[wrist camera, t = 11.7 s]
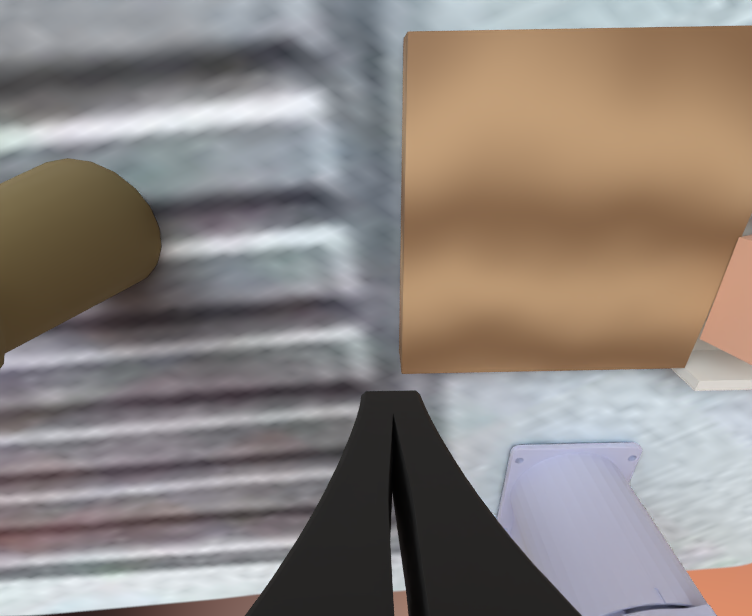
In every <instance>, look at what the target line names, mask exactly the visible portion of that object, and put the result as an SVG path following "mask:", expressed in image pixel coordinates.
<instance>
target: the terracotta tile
mask: <svg viewBox="0 0 752 616" xmlns="http://www.w3.org/2000/svg"><path fill="white" fill-rule="evenodd" d="M700 339H701V340H703V341H705V342H707V343H709V344H711V345H713V346H715V347H717V348H719V349H721V350H723V351H725V352H727V353H729V354H731V355H733V356H735V357H737V358H739V359H741V360H743V361H745V362H747V363H748V364H750V365H752V235H747V236H743V237H739V239H738V241H737V244H736V246H735V249H734V251H733V254H732V257H731V259H730V262H729V264H728V267H727V270H726V272H725V275H724V277H723V280H722V282H721V285H720V288H719V290H718V293H717V295H716V298H715V300H714V303H713V306H712V308H711V311H710V313H709V316H708V319H707V321H706V324H705V326H704V329H703V331H702V334H701V337H700Z"/></svg>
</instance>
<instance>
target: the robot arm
mask: <svg viewBox="0 0 752 616" xmlns="http://www.w3.org/2000/svg"><path fill="white" fill-rule="evenodd" d="M641 453H642V448H641V447H640V445H639V444H638V443H634V442H629V443H581V444H533V445H516V446H514V447H513V448H512V449H511V452H510V457H509V462H508V467H507V472H506V476H505V481H504V486H503V491H502V496H501V501H500V506H499V511H498V516H497V519H496V518H495V517H494V515H493V514H492V513H491V512H490V510H489V509H488V508H487V506H486V505H485V504H484V502H483V501H482V499H481V498H480V497H479V495H478V494H477V492H476V491H475V490H474V488H473V487H472V485H471V484H470V482H469V481H468V480H467V478H466V477H465V475H464V474H463V472H462V471H461V469H460V468H459V466H458V465H457V463H456V461H455V460H454V458H453V456H452V455H451V453H450V452H449V450H448V448H447V447H446V445H445V443H444V442H443V440H442V438H441V437H440V435H439V433H438V431H437V429H436V428H435V426H434V424H433V422H432V420H431V418H430V416H429V414H428V412H427V410H426V408H425V405H424V403H423V401H422V398H421V396H420V394H419V393H418V392H417V391H366V392H365V393H364V394H362V396H361V402H360V407H359V411H358V414H357V418H356V421H355V424H354V426H353V429H352V432H351V435H350V437H349V440H348V442H347V445H346V447H345V449H344V452H343V454H342V457H341V459H340V461H339V463H338V466H337V468H336V470H335V472H334V474H333V476H332V478H331V480H330V482H329V484H328V486H327V488H326V490H325V492H324V494H323V496H322V498H321V499H320V501H319V503H318V505H317V507H316V509H315V510H314V512H313V514H312V516H311V517H310V519H309V521H308V523H307V524H306V526H305V528H304V529H303V531H302V533H301V534H300V536H299V538H298V539H297V541H296V542H295V544H294V546H293V547H292V549H291V550H290V552H289V553H288V555H287V556H286V558H285V559H284V561H283V562H282V564H281V566H280V567H279V569H278V570H277V572H276V573H275V575H274V576H273V578H272V579H271V580H270V582H269V583H268V585H267V586H266V588H265V589H264V590H263V592H262V593H261V595H260V596H259V597H258V599H257V600H256V601H255V603H254V604H253V606H252V607H251V608H250V610H249V611H248V612H247V614H246V615H245V616H394V604H393V586H392V567H391V549H390V532H391V509H392V493H393V500H394V507H395V515H396V522H397V529H398V536H399V543H400V550H401V558H402V565H403V572H404V579H405V586H406V594H407V604H408V614H409V616H717V615H716V614H715V612H714V611H713V610H712V608H711V607H710V605H708V604H707V602H706V601H705V599H704V598H703V596H702V595H701V593H700V592H699V590H698V589H697V587H696V586H695V584H694V583H693V581H692V579H691V578H690V576H689V575H688V573H687V572H686V570H685V569H684V567H683V566H682V564H681V563H680V561H679V560H678V558H677V557H676V555H675V553H674V552H673V550H672V549H671V547H670V546H669V544H668V543H667V541H666V540H665V538H664V537H663V535H662V534H661V532H660V531H659V529H658V528H657V526H656V524H655V523H654V521H653V520H652V518H651V517H650V515H649V514H648V512H647V511H646V509H645V508H644V506H643V505H642V503H641V502H640V500H639V499H638V497H637V495H636V494H635V492H634V491H633V489H632V488H631V486H630V485H629V482H630V479H631V477H632V475H633V472H634V470H635V468H636V465H637V463H638V460H639V458H640V456H641Z"/></svg>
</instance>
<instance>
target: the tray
mask: <svg viewBox="0 0 752 616" xmlns="http://www.w3.org/2000/svg"><path fill="white" fill-rule="evenodd" d="M747 235H752V214H751V216H750V218H749V221H748V223H747V225H746V228H745V230H744V232H743V235H742V237H743V236H747ZM717 293H718V292H717ZM715 298H716V297H715ZM714 300H715V299H714ZM713 303H714V302H713ZM712 306H713V304H712ZM712 306H711V308H712ZM711 308H710V311H711ZM710 311H709V313H710ZM709 313H708V315H707V318H706V320H705V322H704V325H703V327H702V329H701V332H700V334H699V336H698V338H697V341H696V343H695V345H694V348H693V350H692V352H691V355H690V357H689V359H688V362H687V364H686V366H685V368H671V369H672V370H673V371H674V372H675V373H676V374H677V375H678V376H679V377H680V378H681V379H682V380H684V381H685V382H686V383H687V384H688V385H689V386H690V387H691V388H692V389H693V390H694V391H711V390H752V365H750V364H748V363H747V362H745V361H743V360H741V359H739V358H737V357H735V356H733V355H731V354H729V353H727V352H725V351H723V350H721V349H719V348H717V347H715V346H713V345H711V344H709V343H707V342H705V341H703V340H701V339H700V337H701V334H702V331H703V329H704V326H705V324H706V321H707V319H708V316H709Z"/></svg>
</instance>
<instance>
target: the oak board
mask: <svg viewBox="0 0 752 616" xmlns="http://www.w3.org/2000/svg"><path fill="white" fill-rule="evenodd" d="M751 214H752V26H702V27H645V28H587V29H530V30H473V31H415V32H407V34H406V35H405V37H404V43H403V114H402V185H401V256H400V327H399V354H400V363H401V372H402V374H417V373H466V372H515V371H565V370H614V369H663V368H685V366H686V364H687V362H688V359H689V357H690V355H691V352H692V350H693V348H694V345H695V343H696V341H697V338H698V336H699V334H700V332H701V329H702V327H703V325H704V322H705V320H706V318H707V315H708V313H709V311H710V308H711V306H712V304H713V302H714V299H715V297H716V295H717V292H718V290H719V288H720V285H721V282H722V280H723V277H724V275H725V272H726V270H727V267H728V264H729V262H730V259H731V257H732V254H733V251H734V249H735V246H736V244H737V241H738V239H739V237H742V235H743V232H744V230H745V228H746V225H747V223H748V221H749V218H750V216H751Z"/></svg>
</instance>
